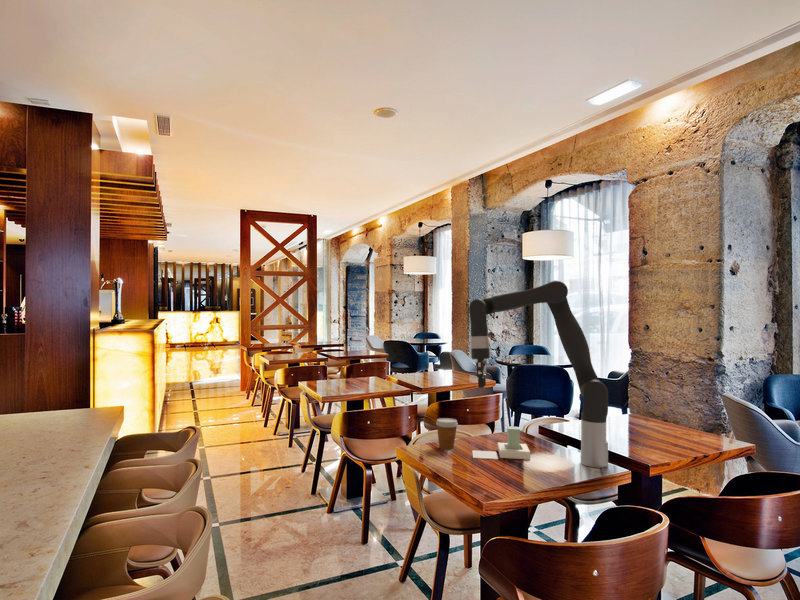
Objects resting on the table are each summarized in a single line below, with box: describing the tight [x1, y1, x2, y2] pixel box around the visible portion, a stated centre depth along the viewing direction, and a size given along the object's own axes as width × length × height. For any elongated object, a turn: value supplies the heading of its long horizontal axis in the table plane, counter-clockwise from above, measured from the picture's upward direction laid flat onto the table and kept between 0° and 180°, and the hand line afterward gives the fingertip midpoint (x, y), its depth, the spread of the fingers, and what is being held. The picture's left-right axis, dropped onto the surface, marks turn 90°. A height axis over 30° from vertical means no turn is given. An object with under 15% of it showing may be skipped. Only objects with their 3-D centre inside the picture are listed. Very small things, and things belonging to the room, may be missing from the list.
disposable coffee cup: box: [435, 417, 459, 451], centre depth 202 cm, size 10×10×12 cm
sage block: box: [506, 425, 521, 450], centre depth 195 cm, size 5×5×11 cm
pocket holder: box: [497, 442, 531, 460], centre depth 195 cm, size 12×12×3 cm
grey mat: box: [471, 450, 499, 461], centre depth 192 cm, size 10×10×1 cm
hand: (482, 386), depth 191 cm, fingers open, 8 cm apart
